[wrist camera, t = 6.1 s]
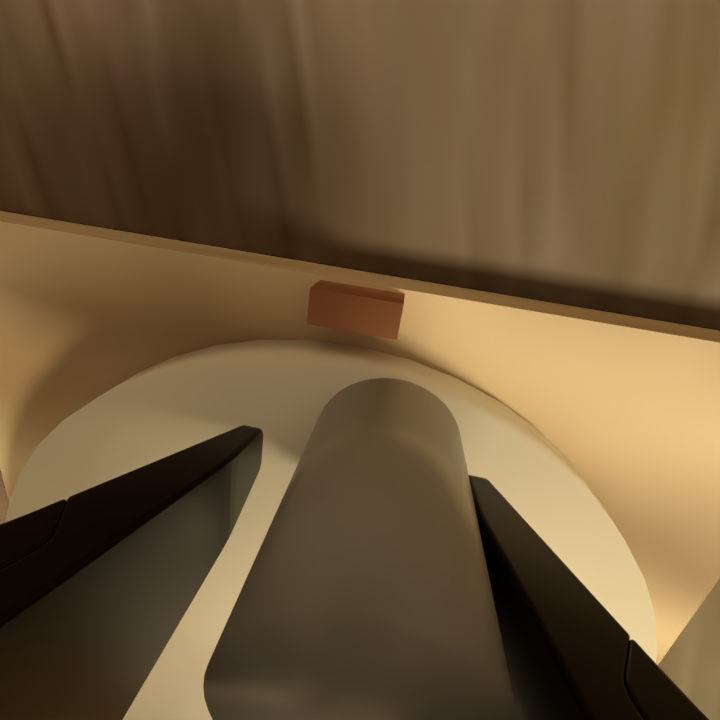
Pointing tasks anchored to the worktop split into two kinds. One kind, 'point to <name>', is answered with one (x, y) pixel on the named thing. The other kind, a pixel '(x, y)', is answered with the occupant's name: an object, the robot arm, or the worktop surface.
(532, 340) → the base plate
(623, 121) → the worktop surface
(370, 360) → the dial
